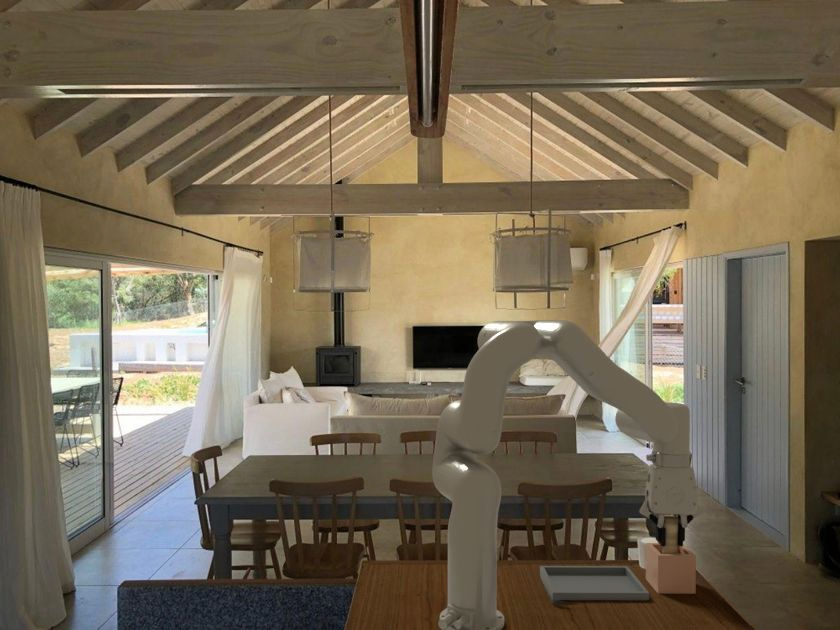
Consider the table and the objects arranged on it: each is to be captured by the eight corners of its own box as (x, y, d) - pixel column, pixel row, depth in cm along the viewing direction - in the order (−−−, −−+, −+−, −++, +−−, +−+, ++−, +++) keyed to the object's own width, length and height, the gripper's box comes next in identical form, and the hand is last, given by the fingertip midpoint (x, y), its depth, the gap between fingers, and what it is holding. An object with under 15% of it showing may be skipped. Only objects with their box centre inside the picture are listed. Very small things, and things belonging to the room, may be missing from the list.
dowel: (675, 589, 151) (676, 520, 151) (660, 586, 153) (661, 517, 152) (678, 584, 154) (679, 516, 154) (663, 581, 155) (664, 514, 155)
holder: (657, 597, 149) (658, 555, 149) (645, 583, 157) (645, 542, 157) (695, 597, 149) (695, 555, 149) (681, 583, 157) (681, 543, 157)
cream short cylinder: (669, 577, 161) (670, 546, 161) (638, 574, 162) (638, 544, 162) (665, 566, 167) (665, 537, 167) (635, 564, 169) (635, 535, 169)
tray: (552, 604, 146) (552, 592, 146) (540, 576, 161) (540, 565, 161) (649, 604, 146) (649, 592, 146) (627, 577, 161) (627, 566, 161)
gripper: (638, 463, 149) (637, 550, 149) (715, 464, 149) (715, 550, 149) (628, 456, 157) (627, 538, 157) (701, 456, 157) (700, 538, 157)
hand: (670, 543), depth 153 cm, fingers closed on dowel, 3 cm apart
